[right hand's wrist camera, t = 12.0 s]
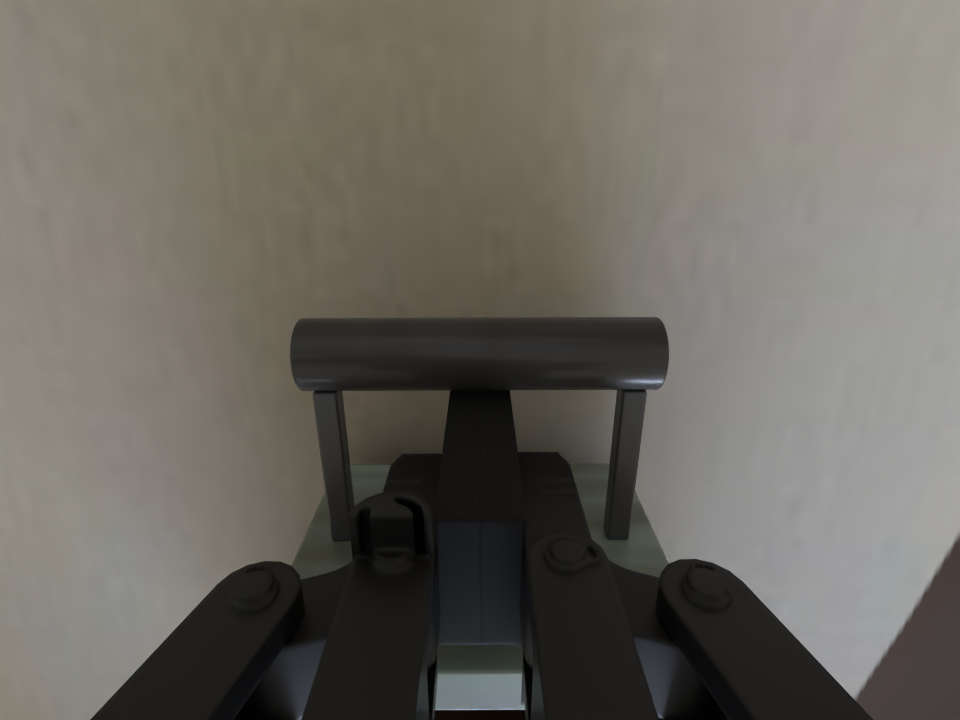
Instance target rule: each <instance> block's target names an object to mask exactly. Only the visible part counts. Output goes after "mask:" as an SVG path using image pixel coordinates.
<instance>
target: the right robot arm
mask: <svg viewBox="0 0 960 720" xmlns="http://www.w3.org/2000/svg"><path fill="white" fill-rule="evenodd" d="M348 520H349V529H350V539H351V548H352V557H353V558H352V561H351V562H350V563H349V564H347V565H345V566H343V567H341V568H339V569H337V570H334V571H331V572H328V573H325V574H321V575H317V576H313V577H309V578H305V579H301V580H300V575H299V574H298V572H297V571H296V570H295V569H294V568H293V566H290V565H288V564H285V563H283V562H274V561H264V562H259V563H255V564H251V565H247V566H245V567H243V568H241V569H239V570H237V571H235V572H233V573H231V574H230V575H228V576H227V577H226V578H225V579H223V580H222V581H221V582H220V583H219V584H217V585H216V586H215V588H214V589H213V590H212V591H211V592H210V593H209V594H208V595H207V596H206V597H205V598H204V599H203V600H202V601H201V602H200V603H199V605H198V606H197V607H196V608H195V609H194V610H193V611H192V612H191V613H190V614H189V615H188V616H187V617H186V618H185V619H184V621H183V622H182V623H181V624H180V625H179V626H178V627H177V628H176V629H175V630H174V631H173V632H172V633H171V634H170V635H169V637H168V638H167V639H166V640H165V641H164V642H163V643H162V644H161V645H160V646H159V647H158V648H157V649H156V650H155V651H154V653H153V654H152V655H151V656H150V657H149V658H148V659H147V660H146V661H145V662H144V663H143V664H142V665H141V666H140V667H139V668H138V670H137V671H136V672H135V673H134V674H133V675H132V676H131V677H130V678H129V679H128V680H127V681H126V682H125V683H124V684H123V686H122V687H121V688H120V689H119V690H118V691H117V692H116V693H115V694H114V695H113V696H112V697H111V698H110V699H109V700H108V702H107V703H106V704H105V705H104V706H103V707H102V708H101V709H100V710H99V711H98V712H97V713H96V714H95V715H94V716H93V718H92V719H91V720H434V717H435V704H436V692H437V679H438V664H437V647H438V644H439V645H522V644H523V664H522V689H521V705H525V716H526V720H873V719H872V718H871V717H870V716H869V715H868V714H867V713H866V712H865V711H864V710H863V709H862V707H861V706H860V705H859V704H858V703H857V702H856V701H855V700H854V699H853V698H852V697H851V696H850V695H849V694H848V693H847V692H846V690H845V689H844V688H843V687H842V686H841V685H840V684H839V683H838V682H837V681H836V680H835V679H834V678H833V677H832V676H831V675H830V674H829V673H828V671H827V670H826V669H825V668H824V667H823V666H822V665H821V664H820V663H819V662H818V661H817V660H816V659H815V658H814V657H813V656H812V655H811V653H810V652H809V651H808V650H807V649H806V648H805V647H804V646H803V645H802V644H801V643H800V642H799V641H798V640H797V639H796V638H795V637H794V635H793V634H792V633H791V632H790V631H789V630H788V629H787V628H786V627H785V626H784V625H783V624H782V623H781V622H780V621H779V620H778V619H777V617H776V616H775V615H774V614H773V613H772V612H771V611H770V610H769V609H768V608H767V607H766V606H765V605H764V604H763V603H762V602H761V601H760V599H759V598H758V597H757V596H756V595H755V594H754V593H753V592H752V591H751V590H750V589H749V588H748V587H747V586H746V585H745V584H744V583H743V582H742V581H741V580H740V579H739V578H737V577H736V576H735V575H734V574H732V573H731V572H730V571H728V570H726V569H724V568H722V567H720V566H718V565H716V564H714V563H711V562H706V561H702V560H697V559H681V560H677V561H675V562H672V563H670V564H668V565H667V566H666V567H665V568H664V570H663V571H662V572H661V574H660V577H656V576H651V575H647V574H643V573H639V572H635V571H632V570H629V569H626V568H623V567H621V566H619V565H617V564H615V563H613V562H611V561H610V560H609V559H608V557H607V555H606V554H605V552H604V550H603V549H602V547H601V546H600V545H599V544H597V543H596V542H595V541H593V540H592V538H591V534H590V531H589V527H588V524H587V521H586V517H585V514H584V510H583V507H582V504H581V500H580V497H579V494H578V490H577V487H576V483H575V482H574V477H573V473H572V470H571V466H570V464H569V463H568V462H567V461H566V460H565V459H564V458H563V457H562V456H561V455H560V454H559V453H557V452H518V451H517V444H516V436H515V428H514V420H513V412H512V405H511V397H510V390H450V398H449V406H448V413H447V421H446V429H445V437H444V444H443V452H442V454H402V455H401V456H400V457H399V458H398V459H397V460H396V461H395V462H394V463H393V464H392V465H391V466H390V469H389V472H388V476H387V479H386V484H385V486H384V489H383V493H379V494H376V495H373V496H371V497H368V498H366V499H364V500H363V501H361V502H360V503H358V504H357V505H356V506H354V508H353V509H352V511H351V512H350V514H349V515H348Z"/></svg>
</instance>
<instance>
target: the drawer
mask: <svg viewBox="0 0 960 720" xmlns="http://www.w3.org/2000/svg"><path fill="white" fill-rule="evenodd" d="M290 361H291V370H292V375H293V378H294V381H295V384H296V386H297V387H298V388H299V389H300V390H302V391H314V392H313V400H314V408H315V415H316V423H317V431H318V438H319V446H320V453H321V461H322V469H323V476H324V484H325V494H324V496H323V498H322V500H321V502H320V505H319V507H318V509H317V511H316V513H315V516H314V518H313V520H312V522H311V524H310V527H309V529H308V531H307V533H306V535H305V538H304V540H303V542H302V544H301V546H300V549H299V551H298V553H297V555H296V557H295V560H294V562H293V564H292V566H293V568H294V569H295V570H296V571H297V572H298V574H299V575H300V580H301V579H305V578H309V577H313V576H317V575H321V574H325V573H328V572H331V571H334V570H337V569H339V568H341V567H343V566H345V565H347V564H349V563H350V562H351V561H352V558H353V557H352V548H351V539H350V529H349V520H348V515H349V514H350V512H351V511H352V509H353V508H354V506H356V505H357V504H358V503H360V502H361V501H363V500H364V499H366V498H368V497H371V496H373V495H376V494H379V493H383V489H384V486H385V484H386V479H387V476H388V472H389V469H390V466H391V465H350V459H349V450H348V441H347V431H346V422H345V413H344V404H343V395H342V391H435V390H617V397H616V407H615V416H614V426H613V436H612V446H611V456H610V464H570V466H571V470H572V473H573V477H574V482H575V483H576V487H577V490H578V494H579V497H580V500H581V504H582V507H583V510H584V514H585V517H586V521H587V524H588V527H589V531H590V534H591V538H592V540H593V541H595V542H596V543H597V544H599V545H600V546H601V547H602V549H603V550H604V552H605V554H606V555H607V557H608V559H609V560H610V561H611V562H613V563H615V564H617V565H619V566H621V567H623V568H626V569H629V570H632V571H635V572H639V573H643V574H647V575H651V576H656V577H660V574H661V572H662V571H663V570H664V568H665V567H666V566H667V565H668V564H669V563H668V561H667V559H666V557H665V555H664V553H663V550H662V548H661V546H660V544H659V542H658V540H657V537H656V535H655V533H654V531H653V529H652V527H651V525H650V522H649V520H648V518H647V516H646V514H645V512H644V510H643V507H642V505H641V503H640V501H639V499H638V497H637V495H636V492H635V483H636V475H637V467H638V459H639V451H640V443H641V435H642V427H643V419H644V411H645V403H646V395H647V392H646V390H656V389H659V388H660V387H661V386H662V385H663V383H664V381H665V378H666V374H667V369H668V362H669V345H668V337H667V332H666V329H665V326H664V324H663V322H662V321H661V319H659V318H657V317H546V318H303V319H300V320H299V321H298V322H297V323H296V325H295V327H294V330H293V334H292V338H291V347H290ZM437 664H438V679H437V692H436V704H435V717H434V720H526V716H525V705H521V689H522V664H523V644H522V645H439V644H438V647H437Z"/></svg>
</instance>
